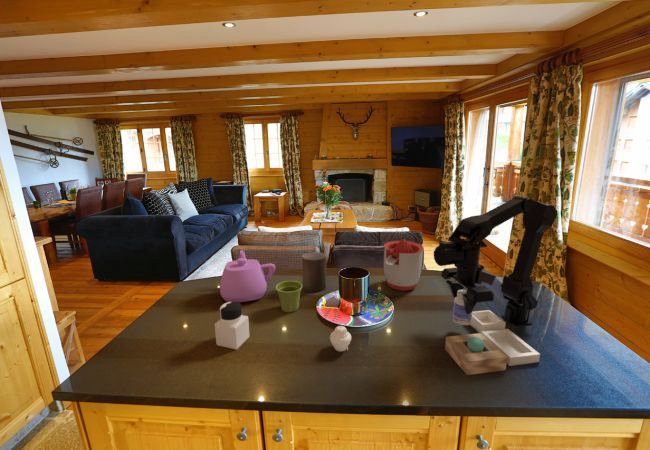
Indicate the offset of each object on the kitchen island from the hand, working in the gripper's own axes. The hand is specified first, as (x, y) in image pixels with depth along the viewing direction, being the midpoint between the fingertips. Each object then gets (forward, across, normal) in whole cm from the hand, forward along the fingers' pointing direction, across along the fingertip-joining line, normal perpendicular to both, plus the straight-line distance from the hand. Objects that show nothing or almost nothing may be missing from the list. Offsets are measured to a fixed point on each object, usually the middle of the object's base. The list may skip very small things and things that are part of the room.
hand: (462, 309), depth 102 cm
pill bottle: (+4, 0, 0) cm, 4 cm away
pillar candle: (+8, +40, +41) cm, 58 cm away
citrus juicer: (+8, +35, +6) cm, 36 cm away
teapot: (+8, +38, +69) cm, 79 cm away
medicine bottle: (+8, +7, +70) cm, 71 cm away
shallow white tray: (+8, -11, -8) cm, 16 cm away
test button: (+6, -13, +4) cm, 15 cm away
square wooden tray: (+8, -13, +4) cm, 16 cm away
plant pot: (+8, +24, +52) cm, 58 cm away
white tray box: (+8, +1, -9) cm, 12 cm away
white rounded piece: (+8, -2, +39) cm, 40 cm away
